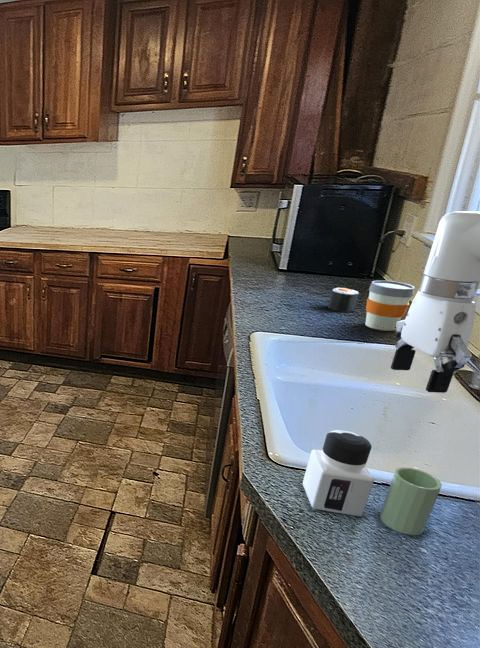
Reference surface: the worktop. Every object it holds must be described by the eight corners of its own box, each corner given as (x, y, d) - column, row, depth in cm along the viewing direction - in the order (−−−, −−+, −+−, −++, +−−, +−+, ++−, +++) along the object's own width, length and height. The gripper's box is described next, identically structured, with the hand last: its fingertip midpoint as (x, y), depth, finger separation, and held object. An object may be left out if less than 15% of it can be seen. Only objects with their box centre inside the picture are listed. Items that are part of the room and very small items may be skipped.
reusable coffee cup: (357, 319, 193) (369, 278, 187) (399, 324, 187) (412, 283, 182) (361, 328, 183) (373, 286, 177) (404, 334, 177) (418, 291, 171)
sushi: (344, 313, 199) (349, 292, 196) (323, 307, 206) (328, 287, 203) (358, 310, 202) (363, 290, 199) (337, 305, 209) (342, 285, 206)
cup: (407, 512, 91) (423, 467, 87) (432, 536, 85) (451, 489, 82) (371, 511, 91) (387, 467, 88) (394, 534, 85) (412, 488, 82)
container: (362, 518, 89) (384, 452, 84) (311, 509, 91) (330, 444, 86) (348, 491, 96) (368, 429, 91) (301, 483, 98) (318, 422, 93)
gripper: (513, 302, 81) (475, 402, 87) (435, 276, 97) (407, 362, 103) (462, 301, 81) (427, 400, 88) (392, 275, 97) (367, 361, 104)
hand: (416, 380), depth 95 cm, fingers open, 9 cm apart
